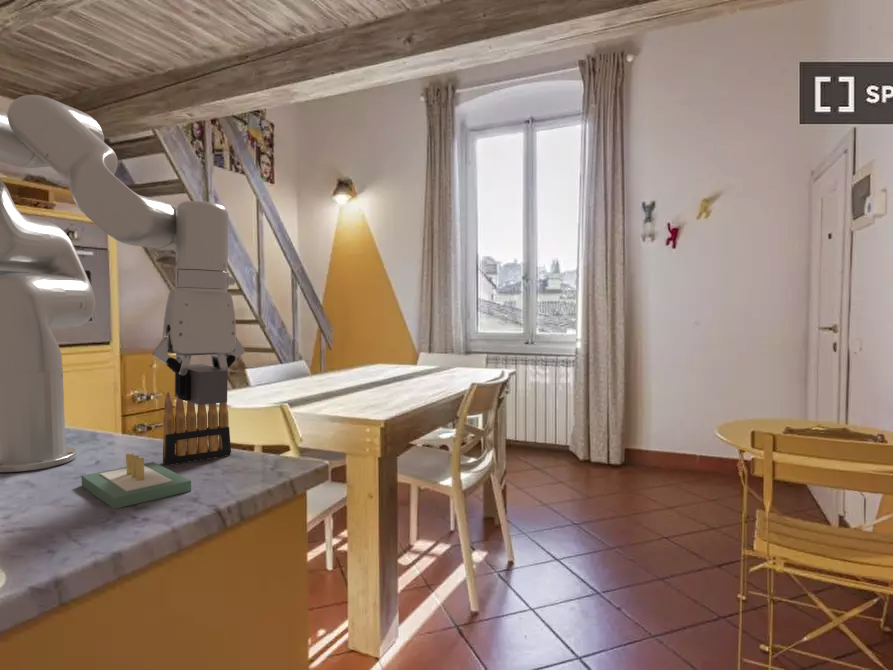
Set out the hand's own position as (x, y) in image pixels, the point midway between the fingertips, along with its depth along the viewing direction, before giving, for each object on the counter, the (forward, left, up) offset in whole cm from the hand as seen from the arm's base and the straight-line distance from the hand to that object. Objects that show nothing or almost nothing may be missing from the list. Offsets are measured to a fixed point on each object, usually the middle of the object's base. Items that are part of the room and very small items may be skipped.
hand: (200, 396), depth 92 cm
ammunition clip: (-7, +2, -12) cm, 14 cm away
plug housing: (0, 0, 0) cm, 0 cm away
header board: (+2, -11, -12) cm, 16 cm away
